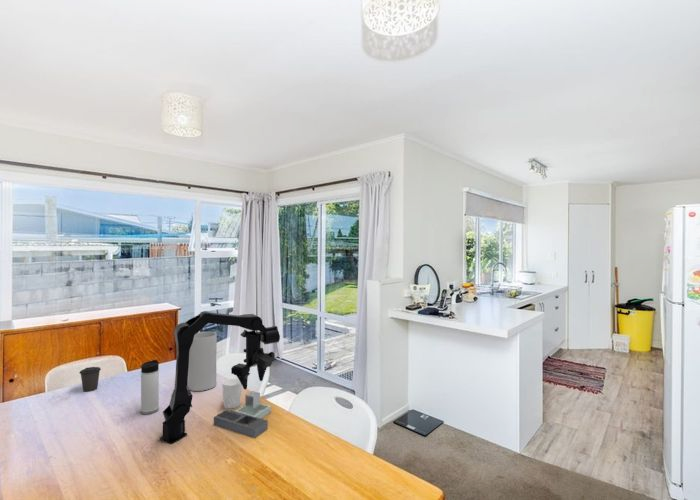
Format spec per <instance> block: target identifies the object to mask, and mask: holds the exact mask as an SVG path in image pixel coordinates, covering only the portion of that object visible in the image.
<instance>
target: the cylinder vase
mask: <svg viewBox="0 0 700 500" xmlns="http://www.w3.org/2000/svg"><path fill="white" fill-rule="evenodd" d="M217 335H218V334H217V332H214V331H199V332H198V333H196V334H195V335H194V339H193V343H192V345H191V348H190V351H189V367H188V383H187V389H188V390H190V391H191V392H204V390H205V391H208V389H209V390H211V389H212V388H215V386H216V385H217V355H218V354H217V353H218V352H217V351H218V350H217V343H218V342H217V341H218V340H217V337H218V336H217Z"/></svg>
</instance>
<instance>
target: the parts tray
mask: <svg viewBox="0 0 700 500" xmlns="http://www.w3.org/2000/svg"><path fill="white" fill-rule="evenodd" d="M235 411H236V412H239V413H243V414H245V404H244V405H243V406H241V407H239V408H238V409H236V410H235ZM271 411H272V406H271V405H269V404H265V403H264V404H263V403H261V402H260V412H259V413H258V414H256V415H255V416H253V417H257V418H260V419H264V418H265V417H267V416H268V415H269V414H271V413H272V412H271ZM246 415H249V414H246ZM250 416H252V415H250Z"/></svg>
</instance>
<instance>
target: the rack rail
mask: <svg viewBox="0 0 700 500" xmlns="http://www.w3.org/2000/svg"><path fill="white" fill-rule="evenodd" d="M246 424H247V425H246ZM268 424H269V420H266V419H264V418H262V419H260V418H257V417H253V416H250V415H246V414H243V413H239V412H236V410H231V409H230V408H226V410H223V411H222V412H220V413H218V414H216V415H215V416H214V417H213V426H215V427H219V428H222V429H225V430H228V431H231V432H234V433H238V434H241V435H245V436H247V437H250V438H255V439H256V438H257V437H259V436H260V435H262V433H264V432H265V431H266V430H268V428H269V425H268Z"/></svg>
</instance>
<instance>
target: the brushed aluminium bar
mask: <svg viewBox="0 0 700 500" xmlns="http://www.w3.org/2000/svg"><path fill="white" fill-rule="evenodd" d="M244 397H245V403H244V405H245V414H249V415H252V416H255V415H256V414H258V413H259V412H260V403H261V392H258V391H253V390H252V391H250V392H248V393H246V394H245V396H244Z"/></svg>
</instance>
